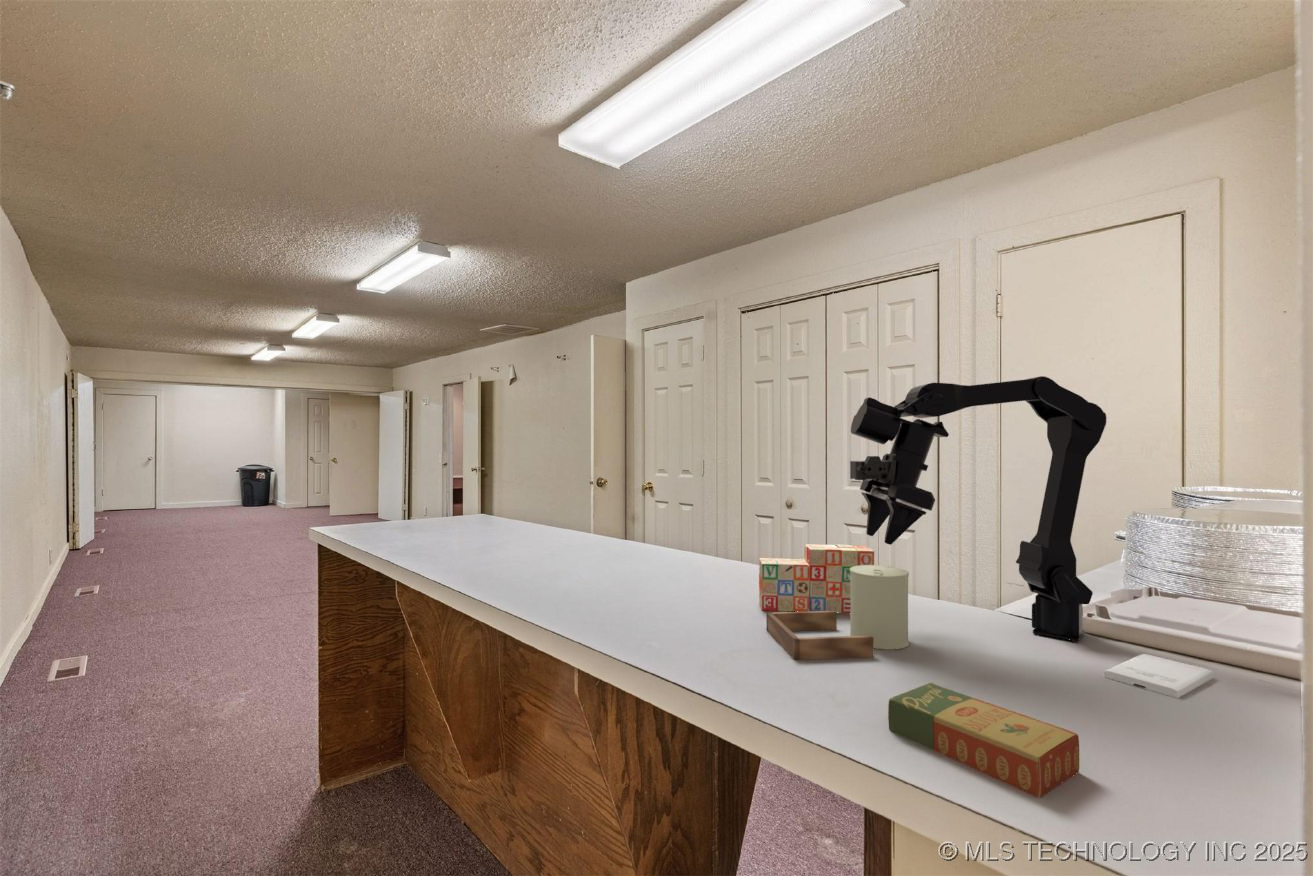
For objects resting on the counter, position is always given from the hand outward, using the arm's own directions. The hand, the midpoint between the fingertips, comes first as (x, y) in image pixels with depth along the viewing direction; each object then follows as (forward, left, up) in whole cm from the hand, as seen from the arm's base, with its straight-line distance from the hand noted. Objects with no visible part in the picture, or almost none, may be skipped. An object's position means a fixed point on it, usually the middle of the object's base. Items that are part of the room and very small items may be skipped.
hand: (878, 539), depth 104 cm
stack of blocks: (+16, -6, -16) cm, 23 cm away
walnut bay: (+5, +12, -16) cm, 20 cm away
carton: (-24, +32, -17) cm, 43 cm away
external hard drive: (-36, -7, -17) cm, 41 cm away
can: (-2, +4, -16) cm, 17 cm away
